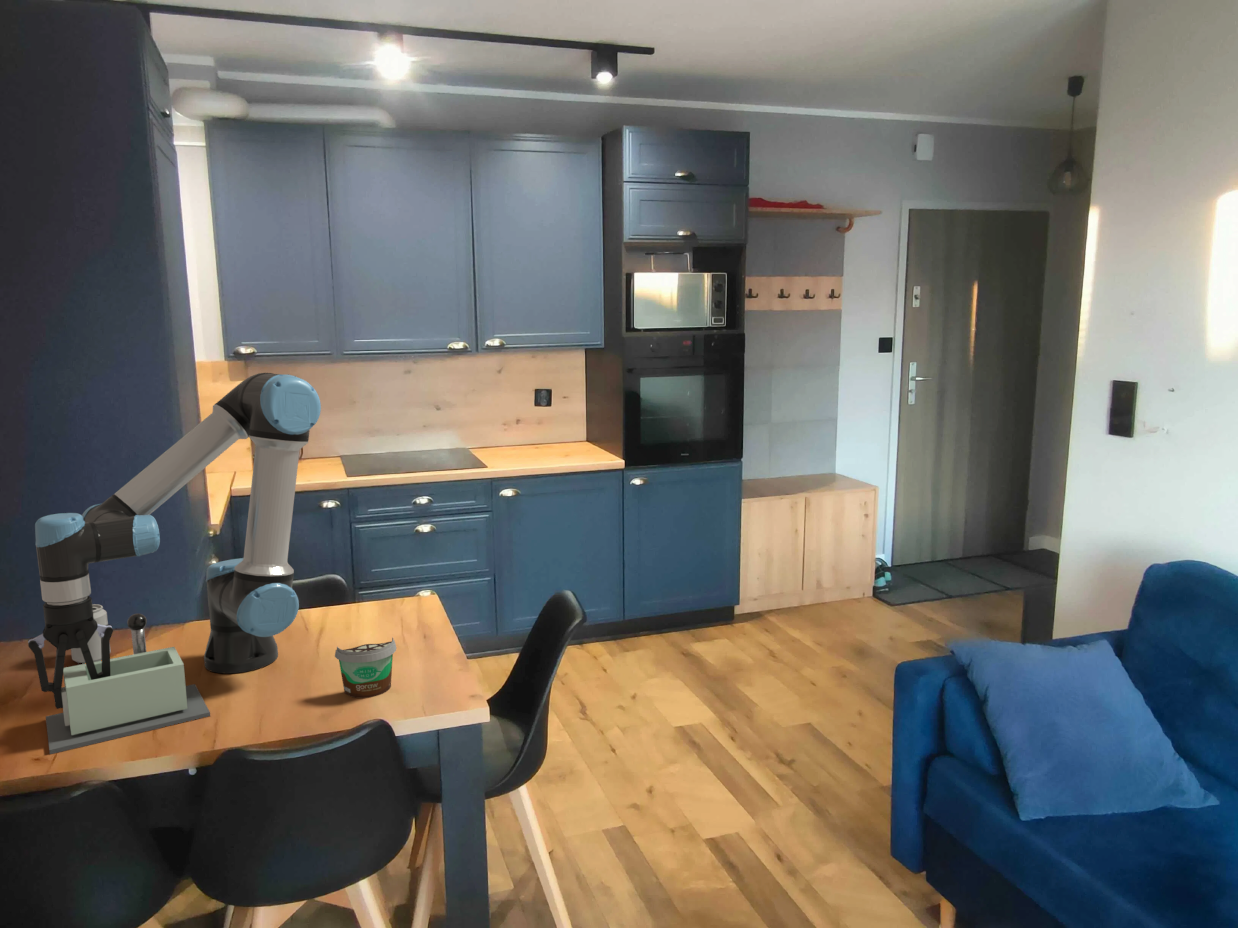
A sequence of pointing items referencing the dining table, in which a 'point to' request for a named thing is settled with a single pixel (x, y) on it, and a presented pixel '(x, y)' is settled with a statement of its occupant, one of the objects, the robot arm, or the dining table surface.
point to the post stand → (138, 632)
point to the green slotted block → (125, 690)
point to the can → (95, 640)
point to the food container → (366, 669)
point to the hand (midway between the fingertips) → (80, 719)
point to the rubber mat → (122, 725)
